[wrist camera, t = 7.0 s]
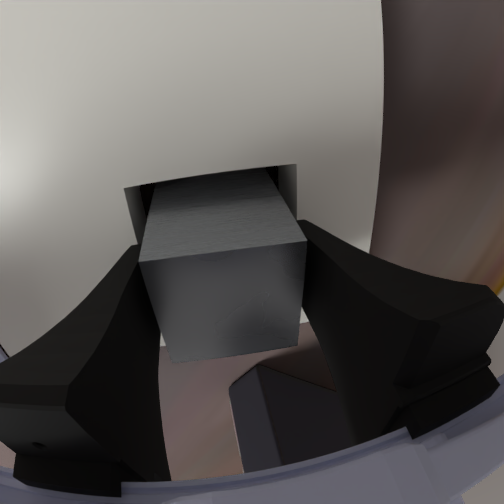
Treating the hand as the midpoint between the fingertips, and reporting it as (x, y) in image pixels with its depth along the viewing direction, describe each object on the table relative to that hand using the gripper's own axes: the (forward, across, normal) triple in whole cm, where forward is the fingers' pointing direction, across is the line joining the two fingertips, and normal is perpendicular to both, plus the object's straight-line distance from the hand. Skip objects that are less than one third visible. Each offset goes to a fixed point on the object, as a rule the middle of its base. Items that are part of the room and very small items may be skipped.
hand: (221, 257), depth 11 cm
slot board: (+3, +3, -3) cm, 5 cm away
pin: (+3, 0, 0) cm, 3 cm away
